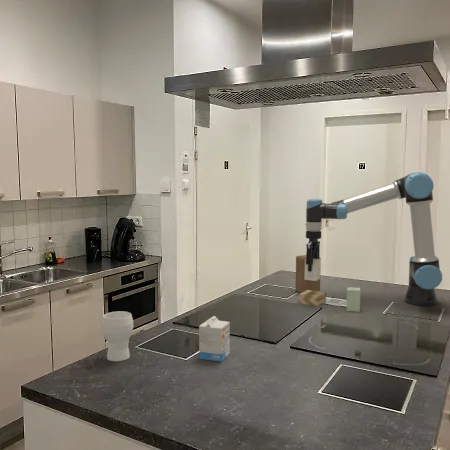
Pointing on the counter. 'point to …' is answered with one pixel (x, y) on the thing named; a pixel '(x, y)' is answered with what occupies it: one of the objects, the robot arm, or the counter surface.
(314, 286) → the wooden block
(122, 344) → the cup
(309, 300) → the oak base
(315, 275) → the cream block
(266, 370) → the counter surface
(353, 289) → the sage block
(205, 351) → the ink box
